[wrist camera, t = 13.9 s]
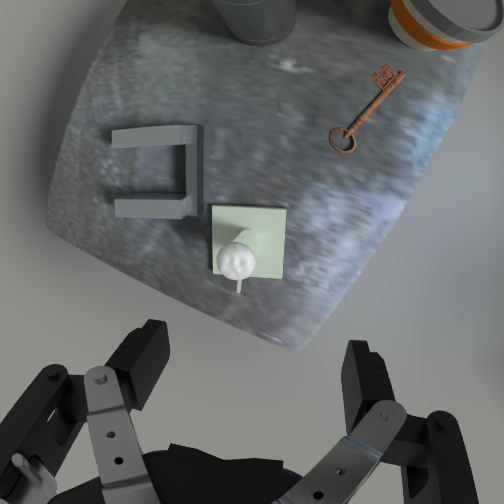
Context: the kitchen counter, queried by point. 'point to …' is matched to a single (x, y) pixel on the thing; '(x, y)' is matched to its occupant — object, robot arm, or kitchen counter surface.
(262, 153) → the kitchen counter surface
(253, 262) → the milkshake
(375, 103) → the key
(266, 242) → the mat
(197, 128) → the grey u-shaped bracket
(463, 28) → the reusable coffee cup
